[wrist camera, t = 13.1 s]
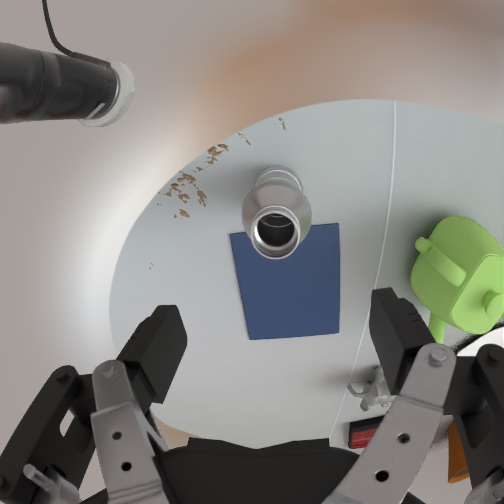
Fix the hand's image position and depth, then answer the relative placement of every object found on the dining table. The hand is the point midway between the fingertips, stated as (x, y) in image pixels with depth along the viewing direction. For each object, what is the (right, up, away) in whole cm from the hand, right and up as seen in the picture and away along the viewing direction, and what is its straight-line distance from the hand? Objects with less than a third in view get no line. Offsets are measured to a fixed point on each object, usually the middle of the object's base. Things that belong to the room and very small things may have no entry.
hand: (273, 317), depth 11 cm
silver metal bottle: (+3, +12, +28) cm, 30 cm away
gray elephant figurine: (+24, -24, +40) cm, 52 cm away
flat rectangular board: (+5, -3, +33) cm, 34 cm away
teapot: (+33, -1, +30) cm, 44 cm away
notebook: (+36, -46, +48) cm, 75 cm away
